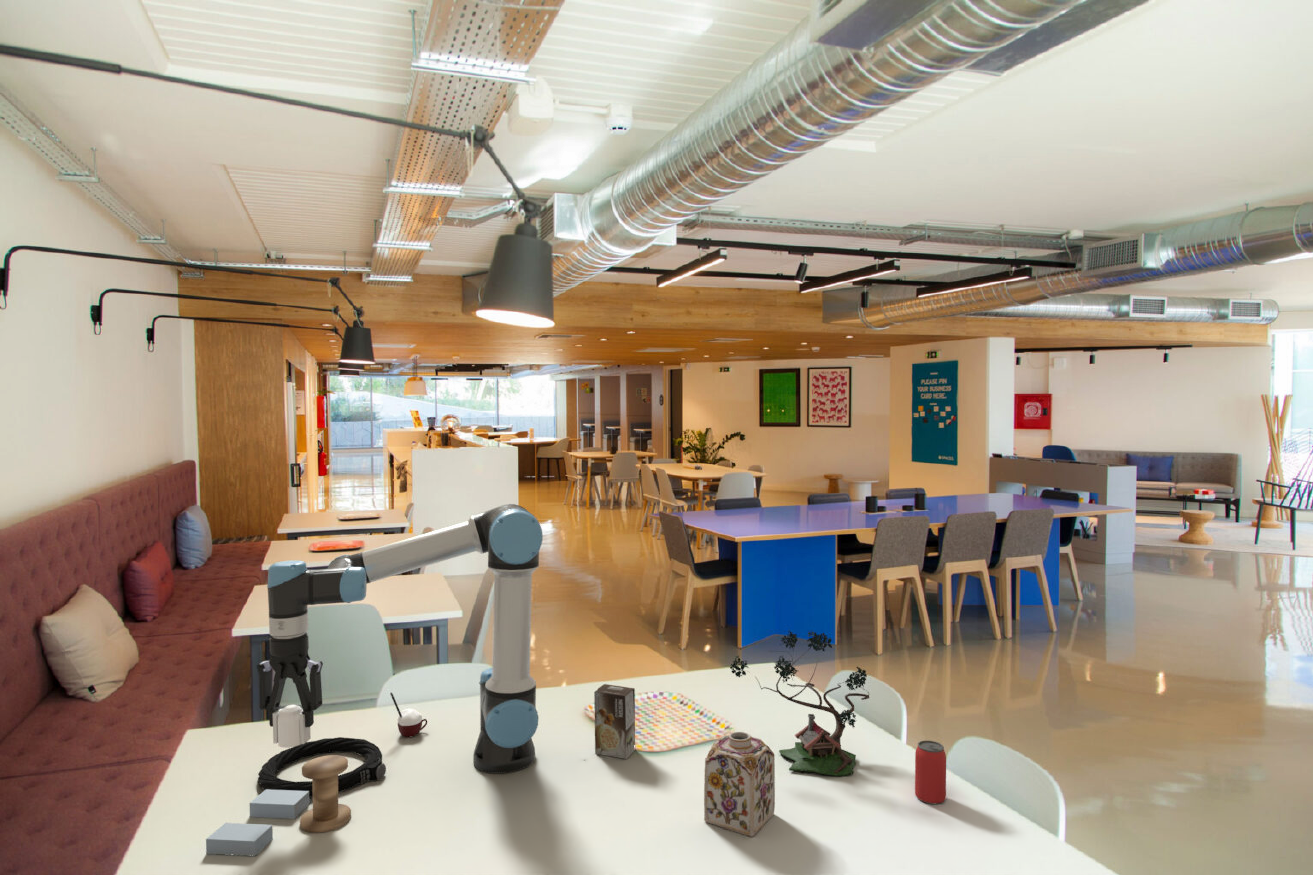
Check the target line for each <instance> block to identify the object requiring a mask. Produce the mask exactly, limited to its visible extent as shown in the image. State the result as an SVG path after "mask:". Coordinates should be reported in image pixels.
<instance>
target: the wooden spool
mask: <svg viewBox="0 0 1313 875" xmlns="http://www.w3.org/2000/svg"><path fill="white" fill-rule="evenodd" d="M348 767H349V760H348V758H347V757H346V756H343V755H338V754H330V755H322V756H318V757H315V758H312V759H310V760H308V761H307V762H306V763H304V764H303V765H302V767H301V775H302V777H304V778H306V779H309V780H311V781H312V785H313V797H312V808H311V809H309V810H307V811H306V812H304V813H303V814H302V815H301V817H300V818H299V827H300V829H301V830H302V831H304V832H306V833H310V834H311V833H312V834H319V833H320V834H322V833H326V832H331V831H334V830H337V829H339V828H341V827H342V826H345V825H346V824H348V822H350V820H351V818H352V810H351V807H349V805H347V804H343V803H339V792H338V776H339V775H341V774H342V773H344V772H345V771H347V769H348Z"/></svg>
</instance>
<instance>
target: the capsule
mask: <svg viewBox="0 0 1313 875" xmlns="http://www.w3.org/2000/svg"><path fill="white" fill-rule="evenodd" d="M281 709H282V710H281V712H280V713H279V715H278V743H277V744H278V747H280V748H287V749H289V748H292V747H295V746H298V745H300V744H301V739H300V713H302V712H303V709H302V706H299V705H297V704H288V705H286V706H285V707H283V708H281Z"/></svg>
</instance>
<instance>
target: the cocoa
mask: <svg viewBox="0 0 1313 875" xmlns="http://www.w3.org/2000/svg"><path fill="white" fill-rule="evenodd" d="M390 696H391V698H392V701H393V703H394V706H395V709H396V711H397V713H398V717H397V729H398V731H399V734H400V735H401V736H403V737H404V736H405V737H404V738H411V737H410V736H413V737H416V736H417V735H419V734H420V732H421V731H422V730H423V729H424V728H425V727H426V726H427V725H428V720H427V719H426V718H423V715H422V714H421V713H420V712H419V711H418V710H415V709H413V708H406V709H402V710H401V711H400V708H399V705H398V704H397V701H396V699H395V696H394V693H393V692H390ZM424 722H425V723H424ZM423 723H424V725H423Z"/></svg>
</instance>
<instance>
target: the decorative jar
mask: <svg viewBox="0 0 1313 875" xmlns="http://www.w3.org/2000/svg"><path fill="white" fill-rule="evenodd" d="M775 756H776V755H775V752H774V751H773V750H772V749H771V748H770V746H768V745H767V744H766V743H765V742H764V741H763V740H762V739H761V738H759V737H755V736H752V735H751V734H749V733H747V732H744V731H734V732H732V733H730V734H729V735H724V736H721V737H719V738H718V739H717V740H715V741H714V742H713V744H712V745H711V748H710V749H709V751H708V753H707V755H706V757H705V758H704V783H703V784H704V787H703V788H704V789H703V793H704V794H703V795H704V797H703V802H704V803H703V805H704V808H703V810H704V815H703V816H704V818H703V821H704V822H705V823H708V824H711V825H714V826H717V827H720V828H723V829H725V830H728V831H729V830H730V831H732V832H736V833H738V834H741V835H744V836H747V837H750V838H752V837H755V836H756V834H757V833H758V832H759V831H760V830H761V829H762V827H764V825H765V824H766V823H767V821H769V820H770V819H771V817H772V816H773V815H774V814H775V805H776V798H775V797H776V793H775V791H776V788H775V787H776V786H775V783H776V782H775V780H776V779H775V778H776V772H775V771H776V770H775V766H776V765H775V762H776V761H775Z"/></svg>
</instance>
